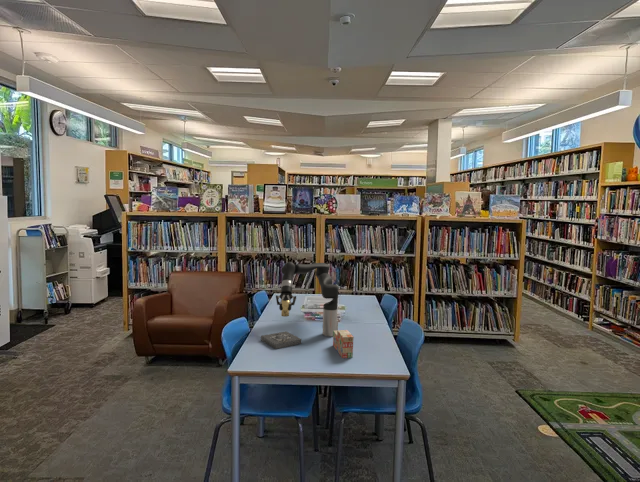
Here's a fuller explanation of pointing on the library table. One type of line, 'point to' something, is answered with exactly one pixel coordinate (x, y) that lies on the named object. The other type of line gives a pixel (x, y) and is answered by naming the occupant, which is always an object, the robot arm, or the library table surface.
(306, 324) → the library table surface
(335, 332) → the stack of blocks
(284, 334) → the plate
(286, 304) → the brass sleeve
